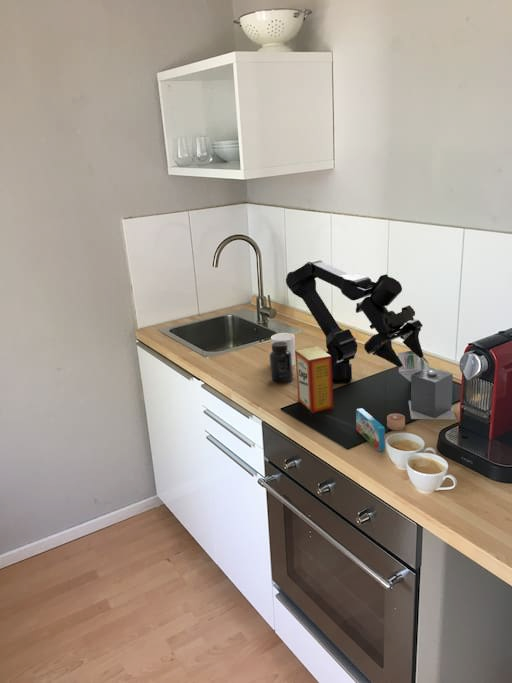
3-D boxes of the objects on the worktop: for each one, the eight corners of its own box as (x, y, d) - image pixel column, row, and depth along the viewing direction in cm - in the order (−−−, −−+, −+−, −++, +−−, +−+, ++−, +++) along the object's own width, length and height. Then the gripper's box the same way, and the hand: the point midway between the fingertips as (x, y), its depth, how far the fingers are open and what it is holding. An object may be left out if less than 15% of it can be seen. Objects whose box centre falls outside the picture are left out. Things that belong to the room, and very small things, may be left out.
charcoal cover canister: (410, 410, 153) (411, 371, 149) (427, 401, 157) (428, 363, 154) (434, 418, 147) (435, 378, 144) (451, 409, 152) (452, 370, 148)
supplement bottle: (296, 376, 183) (294, 341, 179) (288, 385, 177) (285, 348, 173) (276, 374, 186) (273, 339, 182) (268, 383, 180) (265, 346, 176)
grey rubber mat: (411, 420, 149) (411, 418, 148) (408, 402, 159) (408, 400, 159) (455, 421, 146) (455, 419, 146) (450, 402, 157) (450, 400, 156)
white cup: (269, 368, 192) (267, 339, 188) (277, 359, 199) (275, 332, 195) (291, 369, 189) (290, 341, 185) (299, 361, 196) (297, 333, 192)
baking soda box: (298, 400, 166) (295, 348, 161) (318, 396, 168) (316, 344, 162) (311, 413, 157) (308, 359, 152) (333, 408, 159) (331, 354, 154)
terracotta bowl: (387, 432, 144) (387, 421, 143) (386, 423, 148) (386, 413, 147) (405, 432, 143) (405, 421, 142) (404, 424, 147) (404, 413, 146)
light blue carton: (385, 450, 136) (384, 427, 134) (379, 452, 135) (379, 428, 133) (361, 429, 147) (361, 407, 145) (356, 430, 146) (355, 408, 144)
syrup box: (430, 380, 169) (420, 369, 156) (410, 383, 171) (398, 372, 159) (428, 361, 171) (417, 349, 158) (408, 364, 173) (396, 352, 161)
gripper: (371, 306, 147) (407, 355, 142) (416, 290, 157) (451, 336, 152) (349, 330, 155) (382, 377, 150) (394, 314, 166) (426, 358, 161)
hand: (412, 361), depth 153 cm, fingers open, 8 cm apart
